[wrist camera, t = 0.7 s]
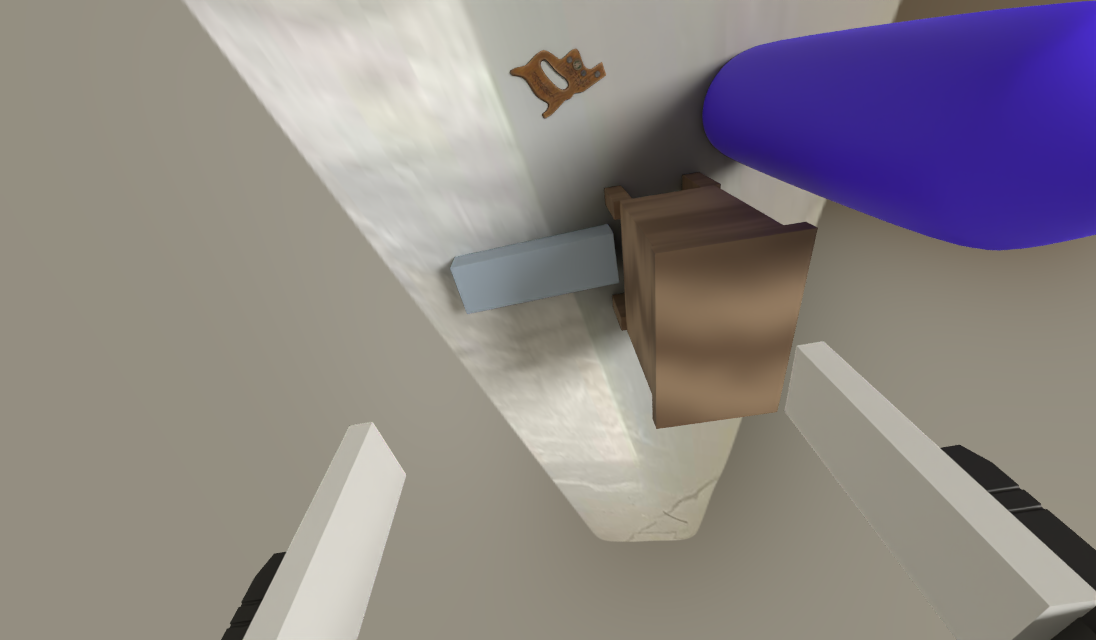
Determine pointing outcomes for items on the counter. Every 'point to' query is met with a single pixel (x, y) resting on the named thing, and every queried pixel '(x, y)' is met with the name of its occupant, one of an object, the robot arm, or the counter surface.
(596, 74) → the saw handle
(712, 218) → the cabinet
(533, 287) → the batten
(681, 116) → the counter surface
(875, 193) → the bottle
